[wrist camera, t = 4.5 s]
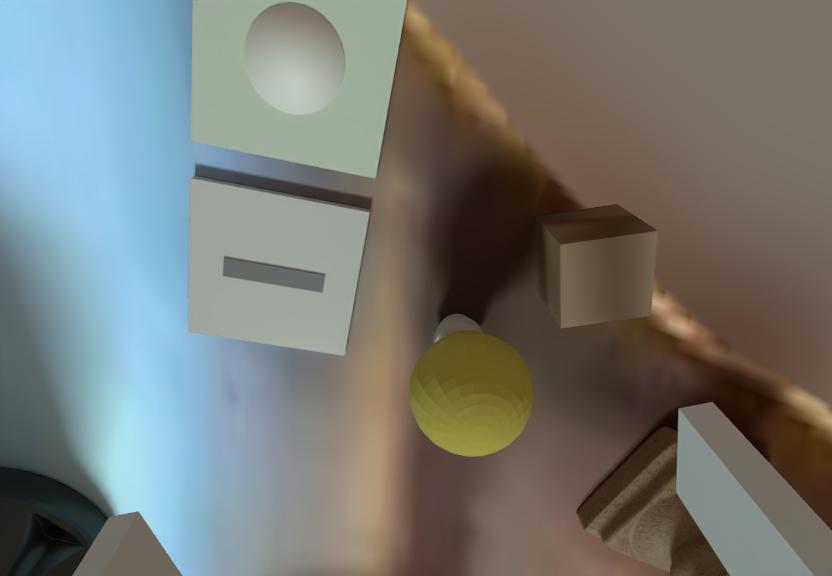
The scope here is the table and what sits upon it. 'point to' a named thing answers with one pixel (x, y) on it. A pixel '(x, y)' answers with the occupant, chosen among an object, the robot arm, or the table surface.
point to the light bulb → (470, 390)
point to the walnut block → (595, 265)
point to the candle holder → (650, 512)
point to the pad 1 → (295, 78)
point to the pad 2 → (272, 266)
